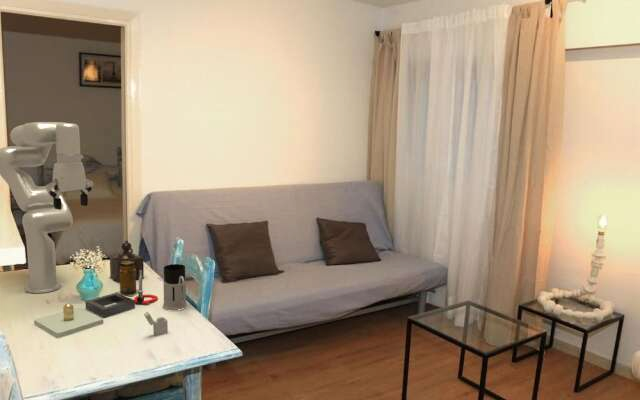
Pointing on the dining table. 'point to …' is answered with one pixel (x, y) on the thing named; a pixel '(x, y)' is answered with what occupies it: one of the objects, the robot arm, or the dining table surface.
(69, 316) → the post
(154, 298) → the tow hook
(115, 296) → the square metal frame
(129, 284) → the condiment
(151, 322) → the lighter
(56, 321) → the plate
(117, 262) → the manual coffee grinder
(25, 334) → the dining table surface
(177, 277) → the glass holder
